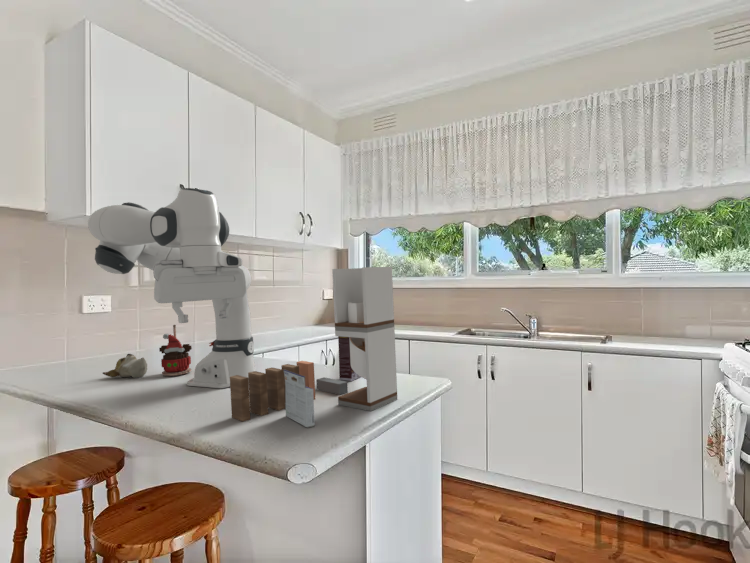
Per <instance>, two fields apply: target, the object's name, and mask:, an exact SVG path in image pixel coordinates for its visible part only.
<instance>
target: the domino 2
mask: <svg viewBox="0 0 750 563" xmlns="http://www.w3.org/2000/svg"><path fill="white" fill-rule="evenodd" d="M248 380H249V402H250V414H253V415H257V416H260V417H262V416H266V415H269V408H268V397H267V377H266V373H265V372H260V371H257V370H256V371H254V372H249V373H248Z"/></svg>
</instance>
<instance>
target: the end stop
mask: <svg viewBox="0 0 750 563" xmlns="http://www.w3.org/2000/svg"><path fill="white" fill-rule="evenodd" d="M315 384H316V390H317V391H322V392H326V393H330V394H335V395H339V396H342V395H344V394H347V393H349V391H348V388H349V387H348V381H343V380H340V379H334V378H329V377H320V378H317V379H316V381H315Z"/></svg>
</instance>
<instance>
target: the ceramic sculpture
mask: <svg viewBox="0 0 750 563" xmlns="http://www.w3.org/2000/svg"><path fill="white" fill-rule="evenodd" d="M147 372H148V363H147V360H146V359H145V357H141V358H139V359H138V358H137V356H136V355H134V354H131V353H128V354H126V356H124V357H121V358H118V360H117V361H116V364H115V367H114V369H111V370H108V371H105V372H102V375H104V376H107V377H111V378H116V377H122V378H134V379H138V378H137V377H140V378H142V377H143V376H145V375H146V373H147ZM130 376H132V377H130Z"/></svg>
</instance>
